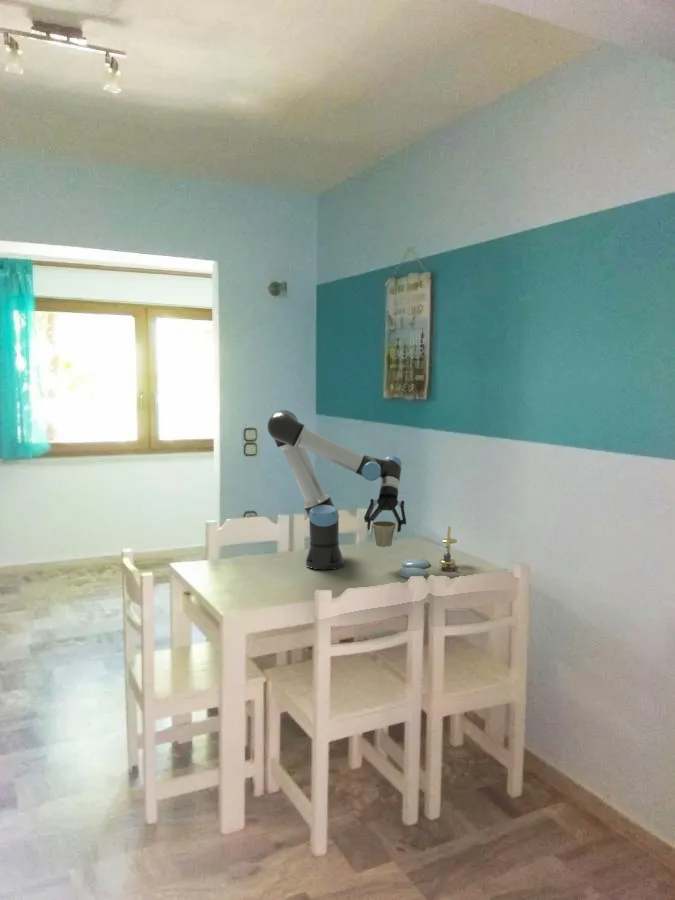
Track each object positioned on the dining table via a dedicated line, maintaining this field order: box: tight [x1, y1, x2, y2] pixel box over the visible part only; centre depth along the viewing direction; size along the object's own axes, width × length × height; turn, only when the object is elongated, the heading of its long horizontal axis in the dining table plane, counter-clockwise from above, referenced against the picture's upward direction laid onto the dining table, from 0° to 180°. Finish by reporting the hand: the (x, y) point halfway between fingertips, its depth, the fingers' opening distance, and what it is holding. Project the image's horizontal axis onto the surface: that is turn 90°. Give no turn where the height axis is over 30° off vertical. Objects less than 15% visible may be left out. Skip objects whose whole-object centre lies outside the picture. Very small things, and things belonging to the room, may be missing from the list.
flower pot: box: [372, 520, 396, 548], centre depth 273 cm, size 9×9×9 cm
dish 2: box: [401, 558, 431, 569], centre depth 278 cm, size 11×11×1 cm
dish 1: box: [397, 567, 428, 579], centre depth 266 cm, size 11×11×1 cm
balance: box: [439, 525, 458, 572], centre depth 272 cm, size 6×21×15 cm, turn 168°
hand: (382, 537), depth 270 cm, fingers closed on flower pot, 9 cm apart
